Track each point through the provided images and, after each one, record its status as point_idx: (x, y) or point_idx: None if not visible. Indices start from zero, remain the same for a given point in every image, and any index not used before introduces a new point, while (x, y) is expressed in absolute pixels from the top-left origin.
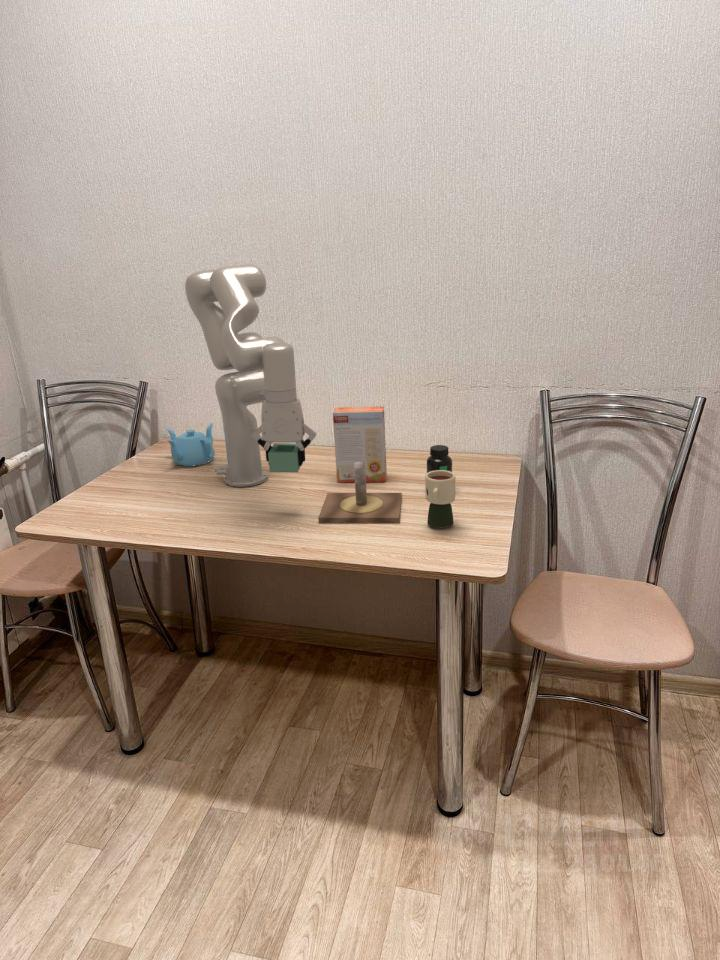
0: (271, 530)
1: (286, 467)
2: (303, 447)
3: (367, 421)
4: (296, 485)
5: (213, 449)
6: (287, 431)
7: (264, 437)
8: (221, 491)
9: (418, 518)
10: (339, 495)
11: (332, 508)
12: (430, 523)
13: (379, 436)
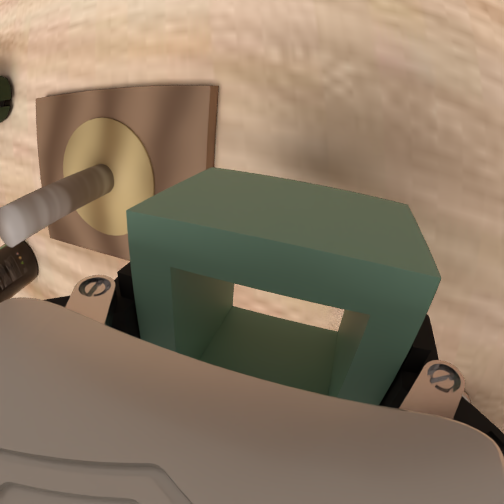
0: (378, 49)
1: (275, 187)
2: (77, 288)
3: None
4: None
5: None
6: (24, 456)
7: (493, 474)
8: (491, 369)
9: (24, 124)
10: None
11: (173, 157)
12: (3, 83)
13: None
